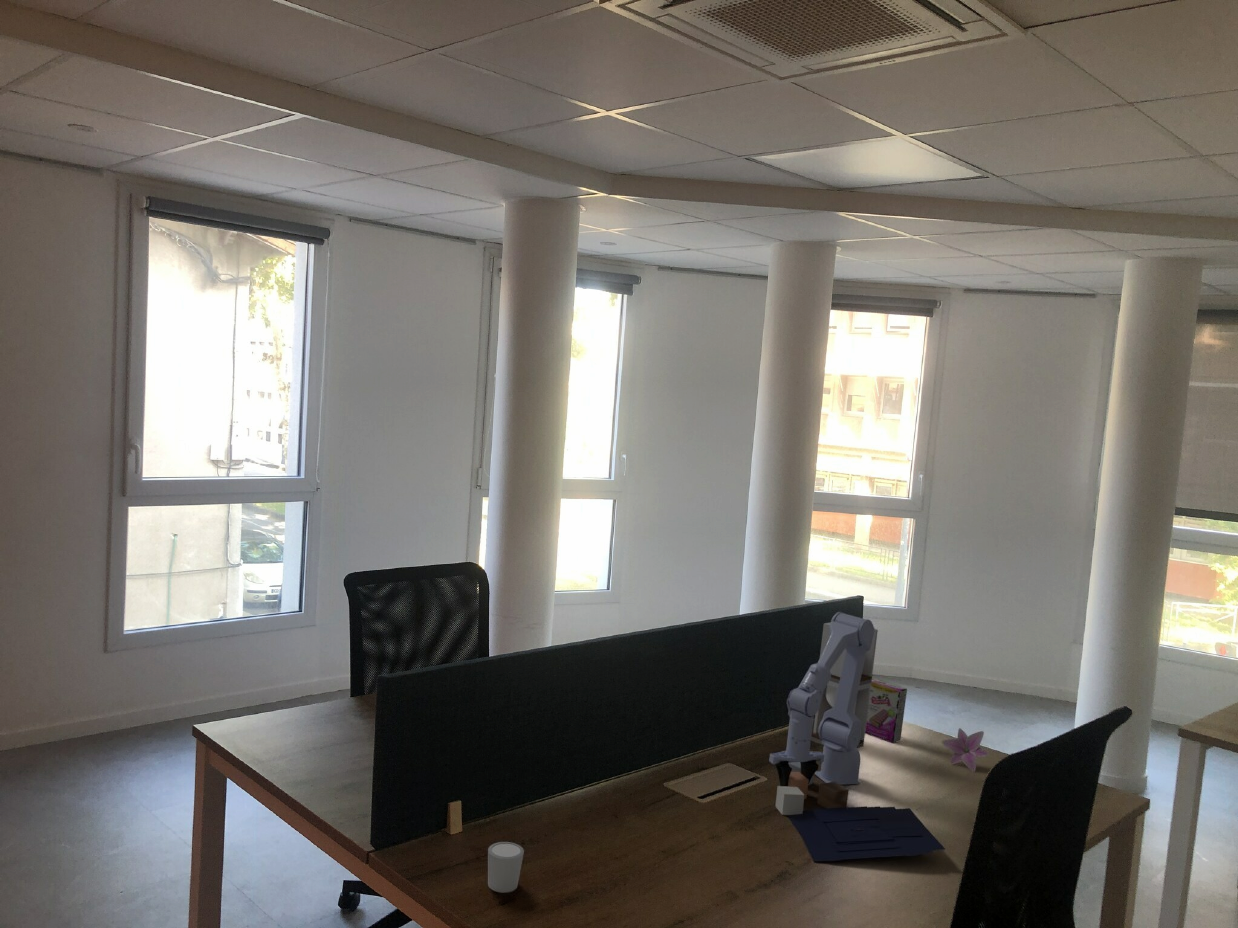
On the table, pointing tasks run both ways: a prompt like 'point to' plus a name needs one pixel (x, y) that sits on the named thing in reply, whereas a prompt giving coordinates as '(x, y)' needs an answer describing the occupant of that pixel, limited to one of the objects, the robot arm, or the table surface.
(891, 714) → the candy bar box
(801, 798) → the offwhite cube
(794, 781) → the terracotta cube
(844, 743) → the robot arm
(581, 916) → the table surface
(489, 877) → the grey cylinder
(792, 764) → the slate cube
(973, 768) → the lily
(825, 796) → the walnut cube
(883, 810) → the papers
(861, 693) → the grey elongated piece
